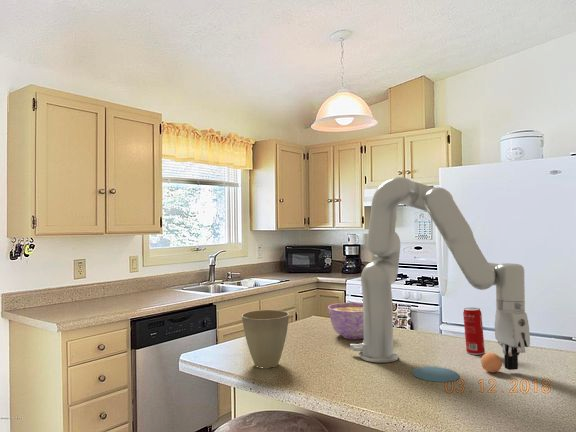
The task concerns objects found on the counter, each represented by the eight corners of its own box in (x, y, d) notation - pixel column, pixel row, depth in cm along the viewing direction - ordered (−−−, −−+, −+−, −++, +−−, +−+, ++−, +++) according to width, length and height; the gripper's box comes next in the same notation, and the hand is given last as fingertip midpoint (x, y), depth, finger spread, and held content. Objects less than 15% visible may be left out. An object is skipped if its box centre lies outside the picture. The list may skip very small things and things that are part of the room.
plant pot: (262, 355, 153) (261, 308, 153) (298, 362, 144) (298, 312, 145) (232, 367, 141) (231, 315, 141) (270, 375, 132) (269, 321, 132)
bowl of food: (323, 331, 186) (323, 303, 186) (371, 329, 188) (370, 301, 188) (333, 344, 166) (333, 312, 166) (386, 342, 168) (386, 311, 169)
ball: (509, 361, 132) (500, 378, 132) (494, 354, 137) (485, 370, 137) (497, 354, 130) (487, 371, 130) (482, 346, 135) (473, 363, 135)
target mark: (414, 380, 127) (414, 380, 127) (410, 366, 140) (410, 365, 140) (463, 383, 124) (463, 382, 124) (454, 368, 137) (454, 367, 137)
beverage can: (486, 355, 150) (485, 310, 150) (465, 355, 151) (464, 309, 151) (482, 351, 156) (481, 307, 156) (462, 350, 157) (461, 306, 157)
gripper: (540, 310, 126) (541, 376, 126) (505, 301, 141) (506, 360, 141) (516, 311, 125) (517, 378, 125) (483, 302, 140) (484, 361, 139)
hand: (511, 368), depth 133 cm, fingers closed
